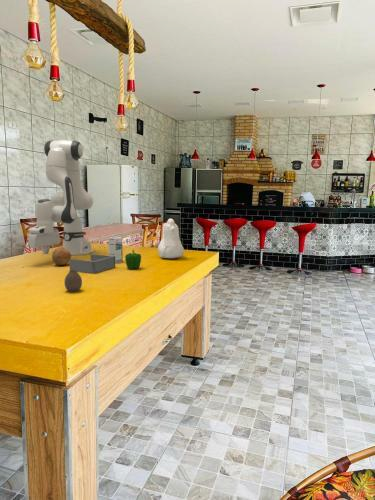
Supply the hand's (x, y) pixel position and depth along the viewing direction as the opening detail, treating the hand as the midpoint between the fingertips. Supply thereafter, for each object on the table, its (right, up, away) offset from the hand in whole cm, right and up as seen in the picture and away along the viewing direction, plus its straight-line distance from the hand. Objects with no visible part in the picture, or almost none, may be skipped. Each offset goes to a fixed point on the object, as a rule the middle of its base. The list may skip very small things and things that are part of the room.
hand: (45, 254), depth 213 cm
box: (+28, -8, -11) cm, 31 cm away
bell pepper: (+50, -8, -8) cm, 51 cm away
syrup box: (+37, -5, +9) cm, 38 cm away
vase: (+31, -15, -55) cm, 65 cm away
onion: (+10, -6, -3) cm, 12 cm away
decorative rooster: (+68, -3, +29) cm, 74 cm away
